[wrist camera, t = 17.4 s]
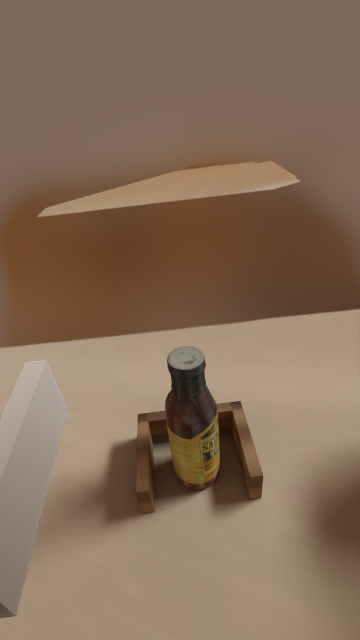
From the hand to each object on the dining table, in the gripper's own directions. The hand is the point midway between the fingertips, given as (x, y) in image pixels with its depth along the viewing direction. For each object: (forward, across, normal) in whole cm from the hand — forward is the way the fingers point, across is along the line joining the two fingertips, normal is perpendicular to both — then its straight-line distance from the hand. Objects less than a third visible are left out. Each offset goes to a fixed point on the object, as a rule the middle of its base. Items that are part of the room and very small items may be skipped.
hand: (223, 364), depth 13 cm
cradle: (+17, -1, -34) cm, 38 cm away
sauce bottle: (+17, -1, -34) cm, 38 cm away
